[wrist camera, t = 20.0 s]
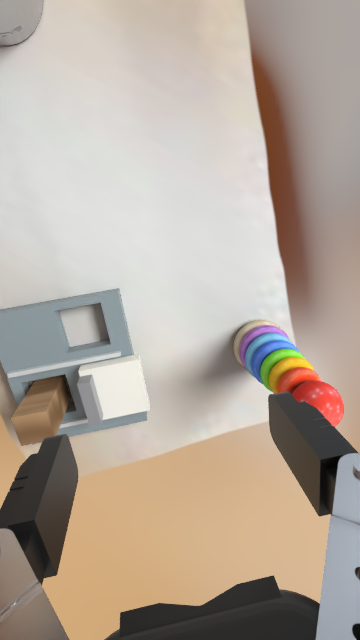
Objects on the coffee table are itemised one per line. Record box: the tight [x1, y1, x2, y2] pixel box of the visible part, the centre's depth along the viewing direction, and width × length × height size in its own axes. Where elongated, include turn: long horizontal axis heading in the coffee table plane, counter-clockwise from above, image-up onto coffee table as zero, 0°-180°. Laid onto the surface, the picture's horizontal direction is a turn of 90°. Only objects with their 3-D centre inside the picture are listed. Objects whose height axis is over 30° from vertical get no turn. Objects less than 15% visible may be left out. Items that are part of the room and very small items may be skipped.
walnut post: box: [11, 375, 70, 446], centre depth 41 cm, size 4×4×9 cm
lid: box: [77, 354, 150, 426], centre depth 42 cm, size 8×8×4 cm
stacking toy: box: [233, 320, 344, 427], centre depth 38 cm, size 8×8×19 cm
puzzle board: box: [0, 289, 147, 444], centre depth 43 cm, size 20×17×3 cm
